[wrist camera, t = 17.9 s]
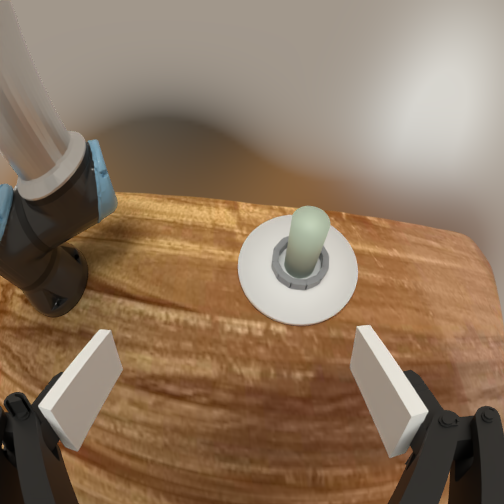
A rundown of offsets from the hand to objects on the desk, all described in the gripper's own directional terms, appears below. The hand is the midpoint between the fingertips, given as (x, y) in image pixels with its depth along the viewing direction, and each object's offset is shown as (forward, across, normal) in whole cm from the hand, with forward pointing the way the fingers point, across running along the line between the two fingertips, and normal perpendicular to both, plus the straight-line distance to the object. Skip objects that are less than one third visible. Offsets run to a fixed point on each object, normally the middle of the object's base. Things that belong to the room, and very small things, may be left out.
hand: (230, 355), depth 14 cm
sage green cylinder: (+32, +9, -6) cm, 33 cm away
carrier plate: (+33, +9, -6) cm, 34 cm away
